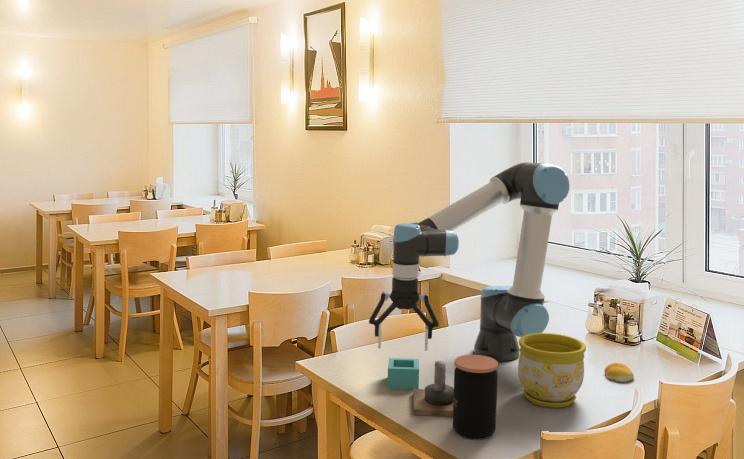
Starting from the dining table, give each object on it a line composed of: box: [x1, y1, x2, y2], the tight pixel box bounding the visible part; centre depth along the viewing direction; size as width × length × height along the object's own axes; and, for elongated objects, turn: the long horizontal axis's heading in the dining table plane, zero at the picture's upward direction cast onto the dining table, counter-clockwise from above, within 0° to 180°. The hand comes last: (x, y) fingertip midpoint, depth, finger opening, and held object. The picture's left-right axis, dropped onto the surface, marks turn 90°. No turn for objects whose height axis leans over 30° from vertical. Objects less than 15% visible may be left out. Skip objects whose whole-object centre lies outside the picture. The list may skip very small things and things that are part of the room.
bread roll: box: [604, 362, 635, 383], centre depth 202 cm, size 8×9×4 cm
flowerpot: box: [517, 332, 587, 409], centre depth 184 cm, size 18×18×16 cm
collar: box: [387, 357, 420, 390], centre depth 195 cm, size 9×9×6 cm
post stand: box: [412, 360, 454, 417], centre depth 179 cm, size 14×14×12 cm
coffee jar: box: [452, 354, 499, 440], centre depth 164 cm, size 11×11×18 cm
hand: (402, 348), depth 194 cm, fingers open, 13 cm apart
